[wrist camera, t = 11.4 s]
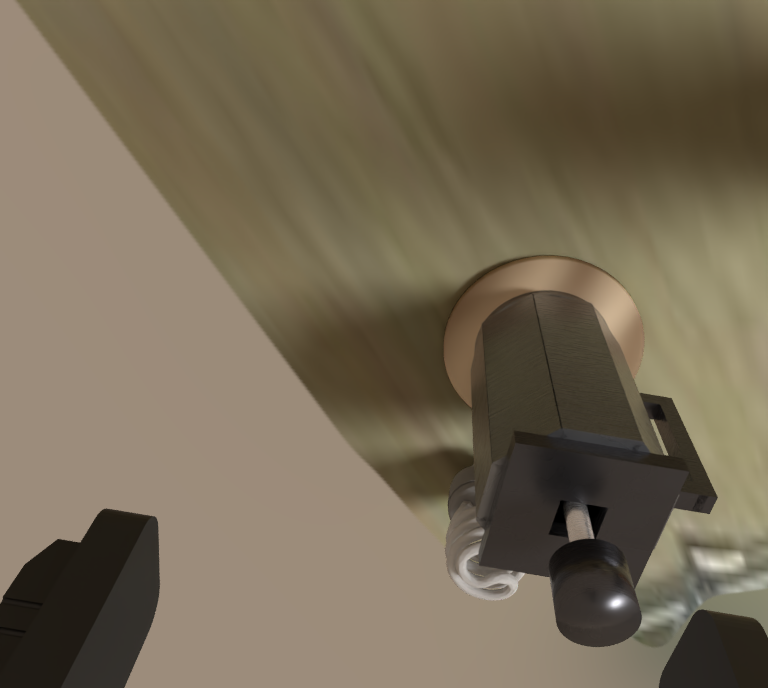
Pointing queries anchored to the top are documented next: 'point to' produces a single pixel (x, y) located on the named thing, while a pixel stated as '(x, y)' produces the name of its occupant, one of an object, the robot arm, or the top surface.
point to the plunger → (592, 585)
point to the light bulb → (472, 545)
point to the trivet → (538, 277)
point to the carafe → (570, 438)
